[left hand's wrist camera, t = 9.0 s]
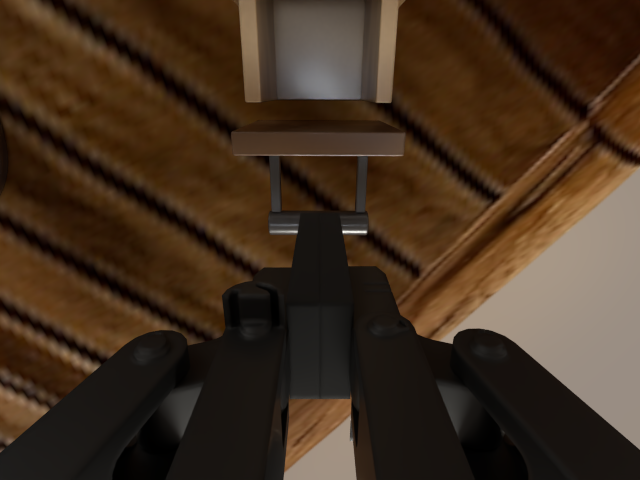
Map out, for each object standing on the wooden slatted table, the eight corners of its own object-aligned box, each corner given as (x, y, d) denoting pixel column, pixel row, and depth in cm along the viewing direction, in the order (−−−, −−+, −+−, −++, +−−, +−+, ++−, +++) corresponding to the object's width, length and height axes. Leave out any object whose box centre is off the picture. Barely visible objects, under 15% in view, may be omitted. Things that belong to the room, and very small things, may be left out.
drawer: (374, 211, 29) (395, 256, 21) (262, 211, 29) (241, 255, 21) (397, -155, 21) (445, -309, 13) (241, -156, 21) (193, -310, 13)
